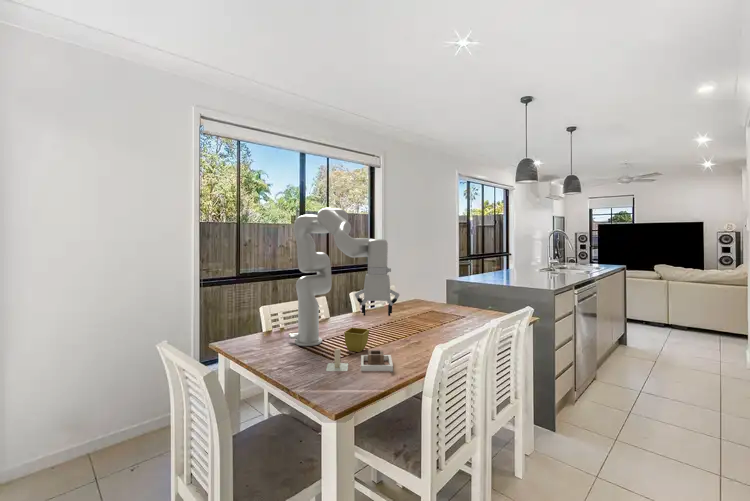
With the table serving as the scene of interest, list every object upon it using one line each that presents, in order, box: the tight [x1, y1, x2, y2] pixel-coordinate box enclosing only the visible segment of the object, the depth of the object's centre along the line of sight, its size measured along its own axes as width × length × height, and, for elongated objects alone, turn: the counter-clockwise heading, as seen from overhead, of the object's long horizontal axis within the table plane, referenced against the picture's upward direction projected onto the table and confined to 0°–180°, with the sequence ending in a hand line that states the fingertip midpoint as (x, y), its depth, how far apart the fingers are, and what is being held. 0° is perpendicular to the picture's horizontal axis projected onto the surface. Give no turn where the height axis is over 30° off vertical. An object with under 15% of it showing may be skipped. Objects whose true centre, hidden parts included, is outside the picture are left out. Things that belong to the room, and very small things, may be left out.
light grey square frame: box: [360, 354, 394, 373], centre depth 142 cm, size 12×12×2 cm
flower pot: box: [343, 327, 370, 353], centre depth 160 cm, size 9×9×9 cm
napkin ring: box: [367, 349, 385, 365], centre depth 142 cm, size 6×6×5 cm
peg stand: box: [325, 348, 349, 372], centre depth 139 cm, size 8×8×7 cm
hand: (376, 315), depth 141 cm, fingers open, 9 cm apart
